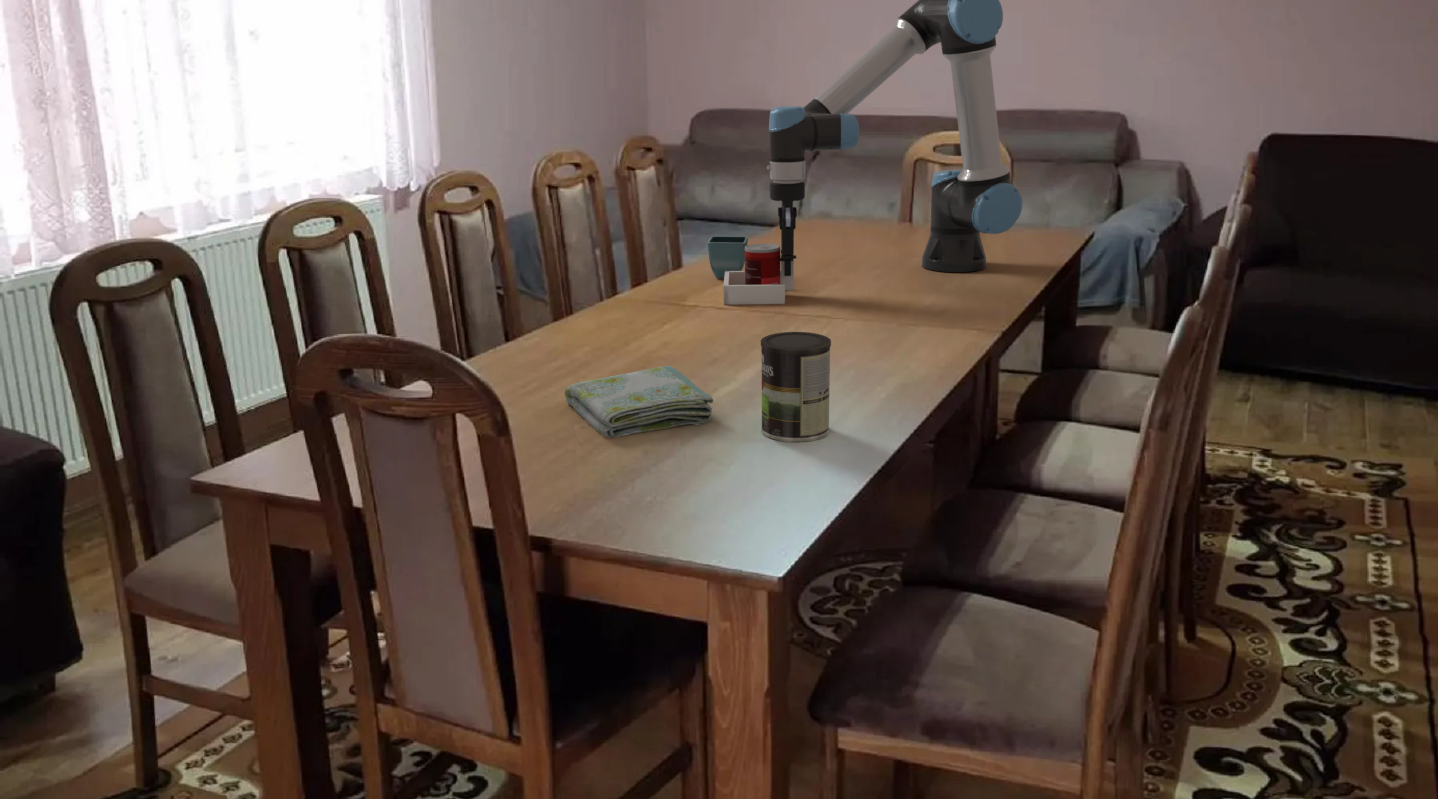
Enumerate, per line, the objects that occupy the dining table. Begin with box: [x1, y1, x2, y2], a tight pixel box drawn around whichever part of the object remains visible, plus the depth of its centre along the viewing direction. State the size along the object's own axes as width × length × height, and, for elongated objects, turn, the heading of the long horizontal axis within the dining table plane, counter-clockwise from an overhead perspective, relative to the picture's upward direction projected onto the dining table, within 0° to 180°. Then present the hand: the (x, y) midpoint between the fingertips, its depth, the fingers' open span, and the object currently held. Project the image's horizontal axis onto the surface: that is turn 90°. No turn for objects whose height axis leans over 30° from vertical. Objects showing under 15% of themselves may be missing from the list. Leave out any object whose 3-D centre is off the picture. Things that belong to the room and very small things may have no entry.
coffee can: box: [760, 331, 832, 443], centre depth 188 cm, size 10×10×14 cm
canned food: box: [744, 243, 781, 285], centre depth 278 cm, size 8×8×11 cm
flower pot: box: [706, 235, 749, 279], centre depth 298 cm, size 9×9×9 cm
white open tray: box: [723, 270, 786, 306], centre depth 279 cm, size 13×16×4 cm
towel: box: [564, 365, 714, 439], centre depth 200 cm, size 18×21×5 cm
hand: (787, 289), depth 279 cm, fingers closed
